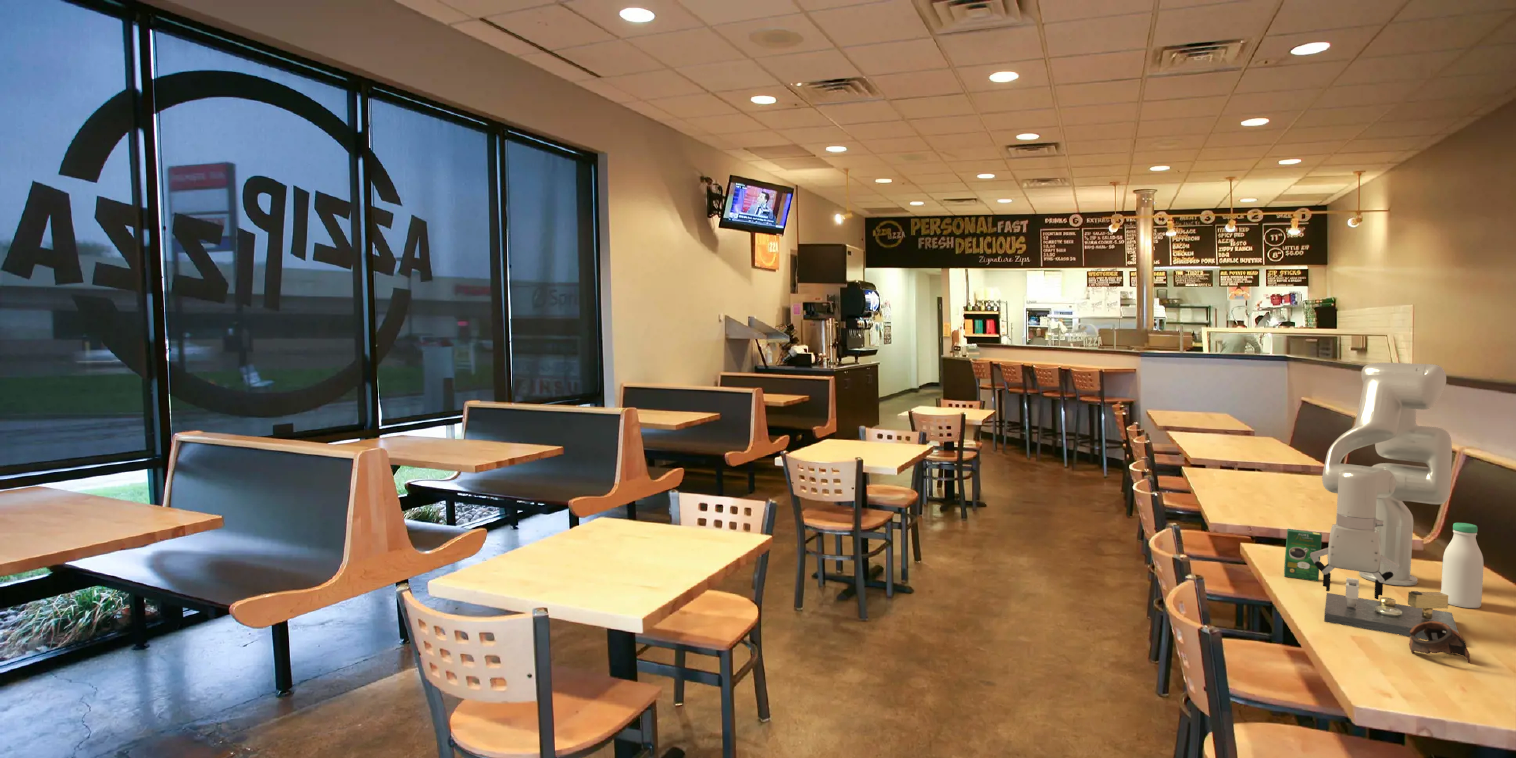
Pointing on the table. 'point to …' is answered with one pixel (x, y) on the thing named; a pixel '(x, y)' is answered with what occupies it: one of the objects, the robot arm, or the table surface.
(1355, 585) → the white t-shaped handle
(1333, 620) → the levelling plate
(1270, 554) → the table surface
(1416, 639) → the brown curved hollow piece
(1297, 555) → the coffee box
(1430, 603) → the wooden bar knob
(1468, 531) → the milk bottle
